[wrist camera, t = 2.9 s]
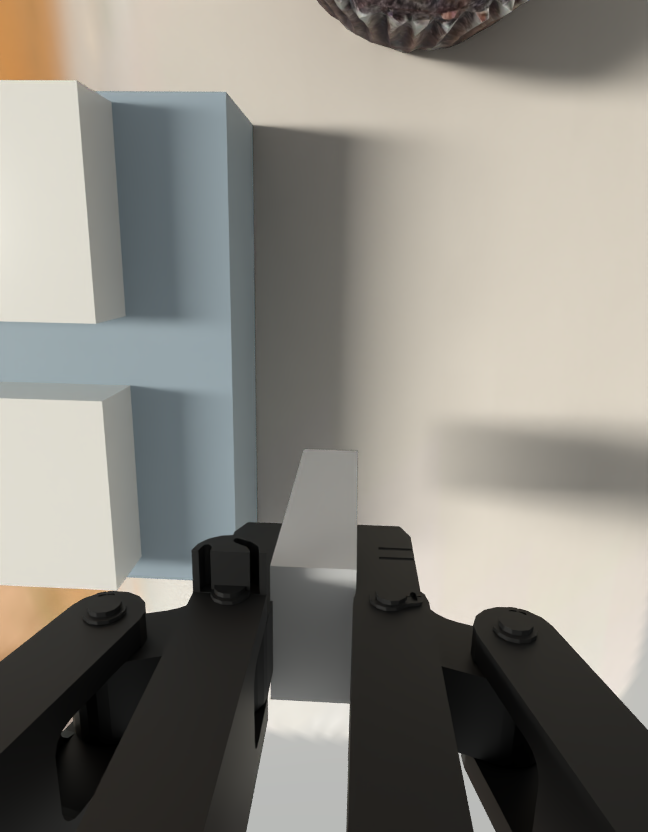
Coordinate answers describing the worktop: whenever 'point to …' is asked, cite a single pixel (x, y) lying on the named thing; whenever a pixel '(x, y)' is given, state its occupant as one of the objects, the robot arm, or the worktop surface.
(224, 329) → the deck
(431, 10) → the cupcake
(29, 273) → the front tile
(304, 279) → the worktop surface
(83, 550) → the rear tile
